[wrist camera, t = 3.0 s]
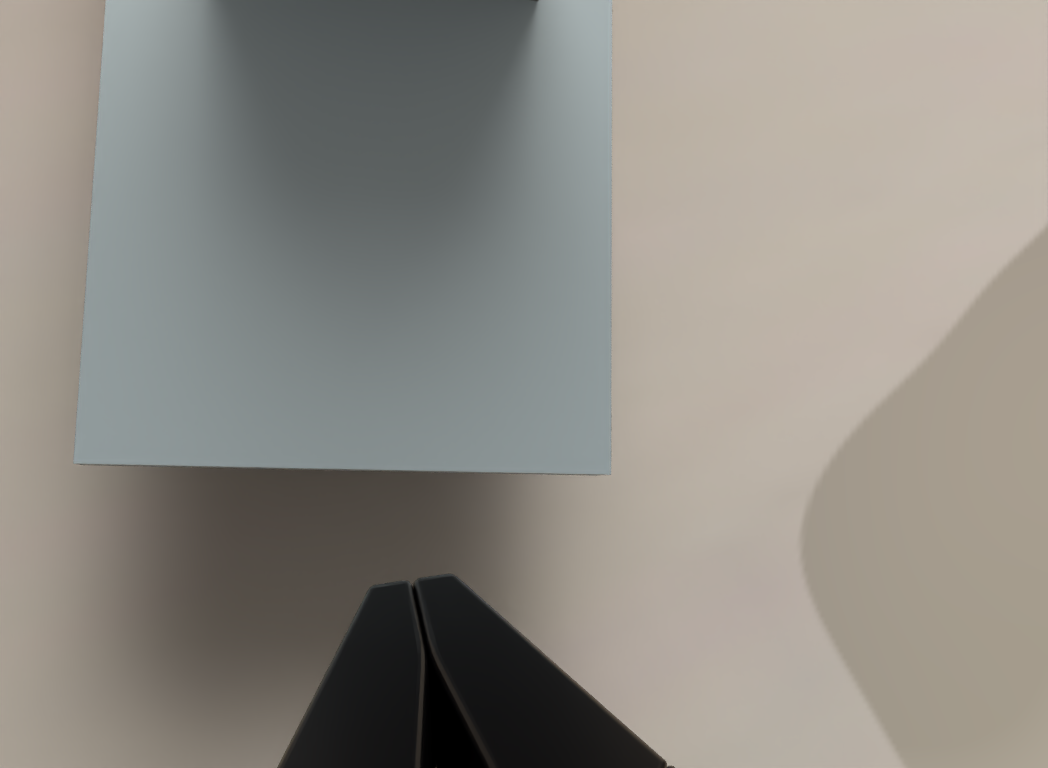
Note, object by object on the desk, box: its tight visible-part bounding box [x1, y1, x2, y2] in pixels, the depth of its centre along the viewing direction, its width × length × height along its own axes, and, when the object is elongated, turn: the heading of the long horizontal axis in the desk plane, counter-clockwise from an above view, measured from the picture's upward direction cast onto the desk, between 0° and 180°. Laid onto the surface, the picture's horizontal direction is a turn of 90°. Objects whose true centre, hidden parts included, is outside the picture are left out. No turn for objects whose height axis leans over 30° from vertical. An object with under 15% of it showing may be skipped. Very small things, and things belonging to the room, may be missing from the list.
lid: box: [73, 0, 612, 475], centre depth 13 cm, size 11×9×8 cm
